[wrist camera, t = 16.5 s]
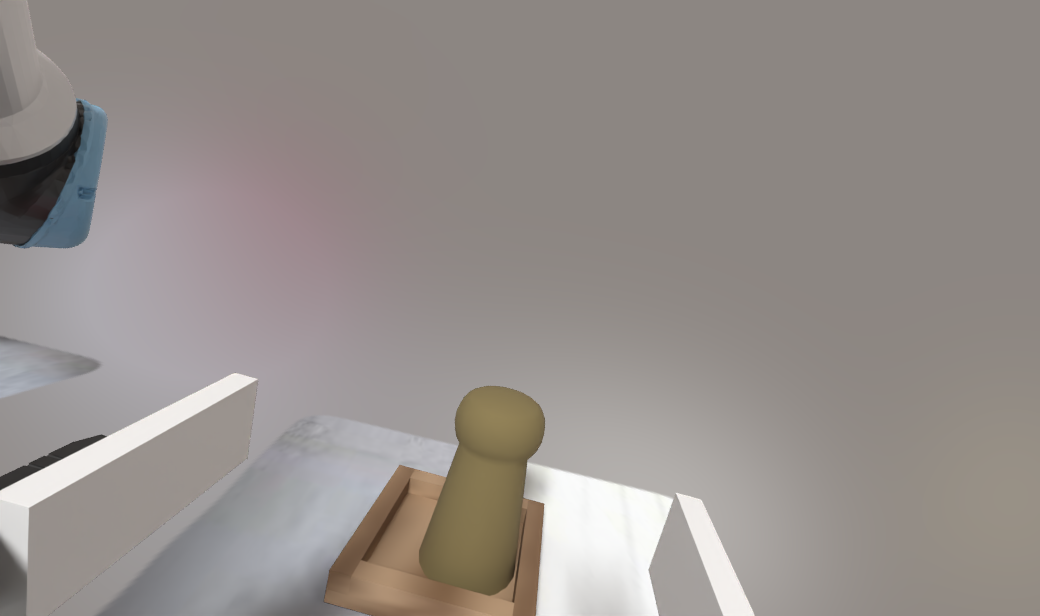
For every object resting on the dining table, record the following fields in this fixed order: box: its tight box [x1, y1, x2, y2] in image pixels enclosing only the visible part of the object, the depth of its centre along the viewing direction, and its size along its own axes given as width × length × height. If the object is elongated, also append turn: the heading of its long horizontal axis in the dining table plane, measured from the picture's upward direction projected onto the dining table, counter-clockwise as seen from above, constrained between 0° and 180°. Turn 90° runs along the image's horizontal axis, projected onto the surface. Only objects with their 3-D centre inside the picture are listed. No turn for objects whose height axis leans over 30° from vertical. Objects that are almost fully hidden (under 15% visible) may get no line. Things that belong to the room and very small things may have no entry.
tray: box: [324, 465, 544, 616], centre depth 31 cm, size 11×11×2 cm
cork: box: [419, 386, 545, 596], centre depth 29 cm, size 6×6×11 cm
